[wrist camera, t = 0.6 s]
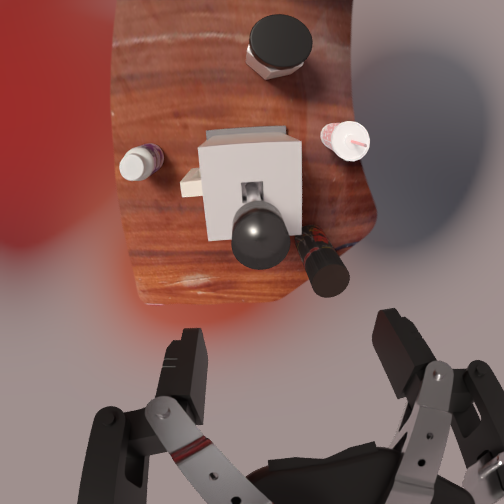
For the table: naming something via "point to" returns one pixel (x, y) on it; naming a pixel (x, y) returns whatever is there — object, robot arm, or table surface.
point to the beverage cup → (346, 139)
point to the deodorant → (321, 262)
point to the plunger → (258, 230)
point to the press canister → (247, 175)
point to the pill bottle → (141, 162)
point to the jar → (278, 46)
